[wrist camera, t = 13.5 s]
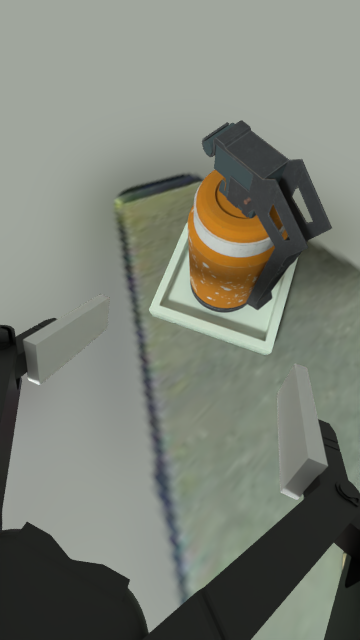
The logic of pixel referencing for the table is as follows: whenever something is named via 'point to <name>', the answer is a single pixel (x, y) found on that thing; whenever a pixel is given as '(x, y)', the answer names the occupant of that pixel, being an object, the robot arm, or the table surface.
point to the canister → (247, 220)
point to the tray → (232, 327)
